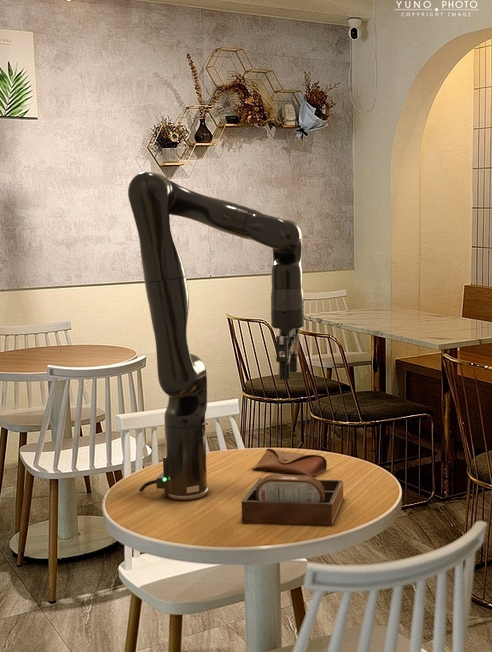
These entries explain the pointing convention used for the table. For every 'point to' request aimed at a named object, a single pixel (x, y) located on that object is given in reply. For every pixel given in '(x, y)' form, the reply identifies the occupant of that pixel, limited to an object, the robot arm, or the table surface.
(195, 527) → the table surface
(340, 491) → the organizer
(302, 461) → the sunglasses case
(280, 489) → the tin
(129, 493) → the table surface
